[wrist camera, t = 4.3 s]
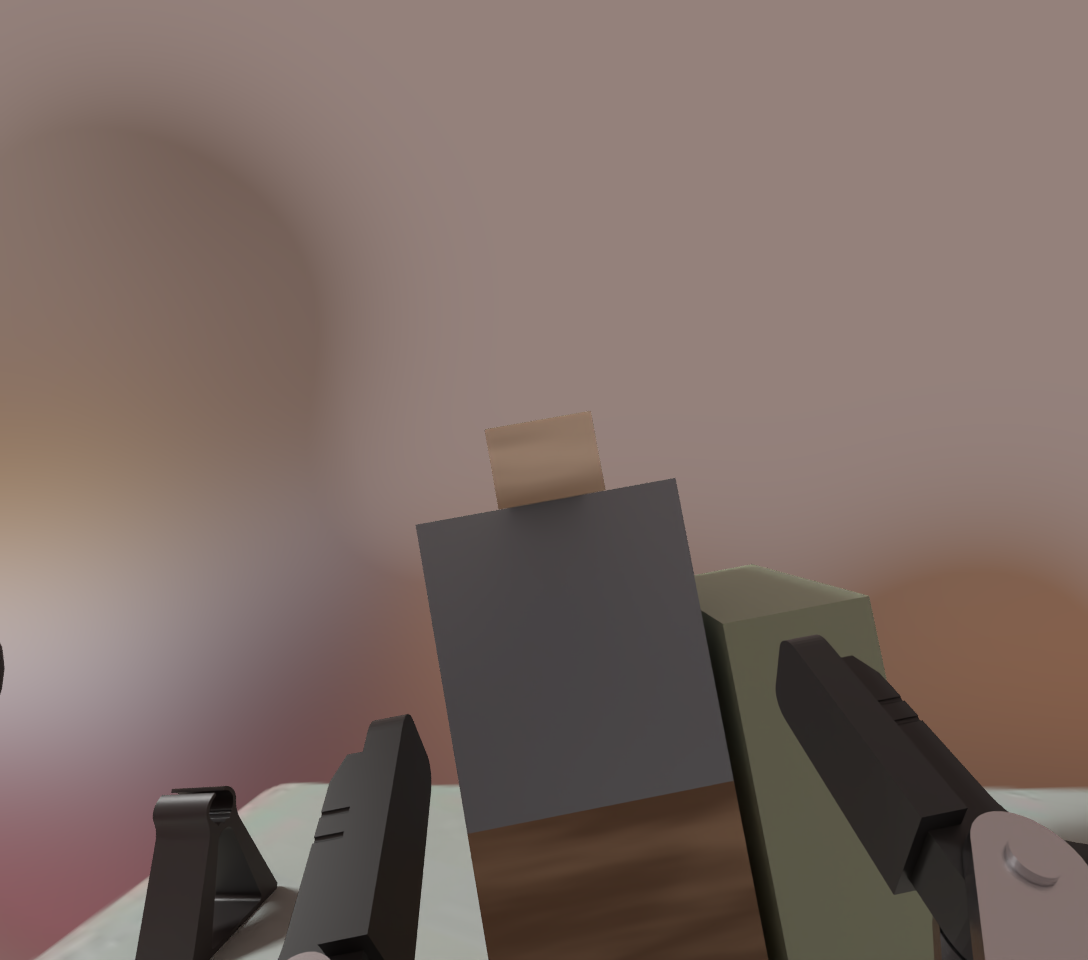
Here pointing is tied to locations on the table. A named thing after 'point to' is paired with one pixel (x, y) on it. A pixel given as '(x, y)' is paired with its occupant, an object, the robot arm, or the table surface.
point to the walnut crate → (622, 883)
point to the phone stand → (200, 876)
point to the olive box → (799, 775)
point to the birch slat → (544, 460)
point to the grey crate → (572, 655)
